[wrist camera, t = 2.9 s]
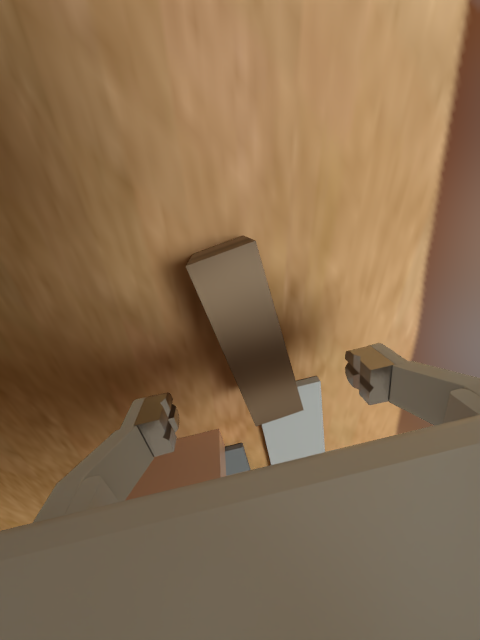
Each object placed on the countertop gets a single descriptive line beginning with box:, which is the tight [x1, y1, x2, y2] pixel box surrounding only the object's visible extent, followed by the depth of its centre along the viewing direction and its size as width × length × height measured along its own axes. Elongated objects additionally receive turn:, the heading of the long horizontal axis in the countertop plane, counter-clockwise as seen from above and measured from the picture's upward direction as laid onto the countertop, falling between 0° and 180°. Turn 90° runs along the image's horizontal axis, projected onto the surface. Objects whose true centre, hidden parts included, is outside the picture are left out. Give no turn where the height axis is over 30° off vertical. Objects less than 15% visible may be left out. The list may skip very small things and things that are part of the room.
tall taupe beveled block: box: [186, 236, 304, 426], centre depth 13 cm, size 10×3×4 cm, turn 19°
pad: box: [262, 376, 325, 465], centre depth 19 cm, size 12×5×1 cm, turn 12°
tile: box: [126, 429, 226, 500], centre depth 14 cm, size 2×8×9 cm, turn 102°
